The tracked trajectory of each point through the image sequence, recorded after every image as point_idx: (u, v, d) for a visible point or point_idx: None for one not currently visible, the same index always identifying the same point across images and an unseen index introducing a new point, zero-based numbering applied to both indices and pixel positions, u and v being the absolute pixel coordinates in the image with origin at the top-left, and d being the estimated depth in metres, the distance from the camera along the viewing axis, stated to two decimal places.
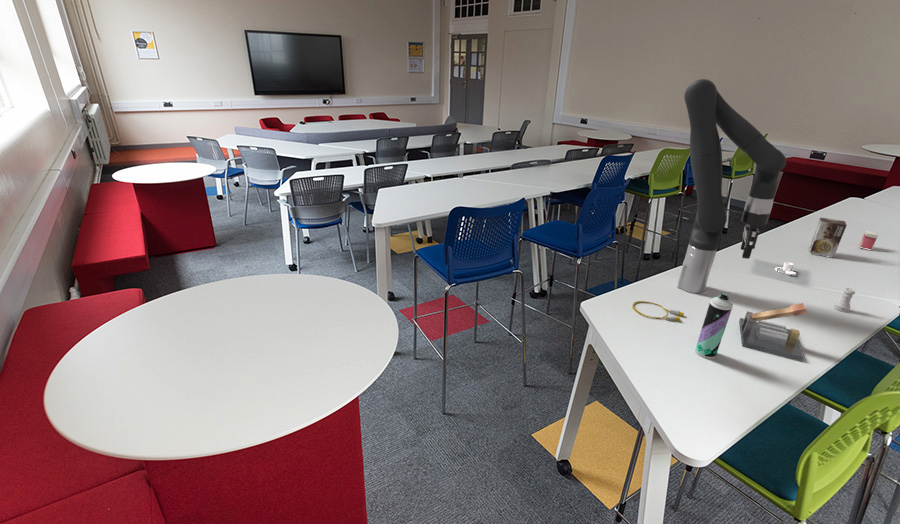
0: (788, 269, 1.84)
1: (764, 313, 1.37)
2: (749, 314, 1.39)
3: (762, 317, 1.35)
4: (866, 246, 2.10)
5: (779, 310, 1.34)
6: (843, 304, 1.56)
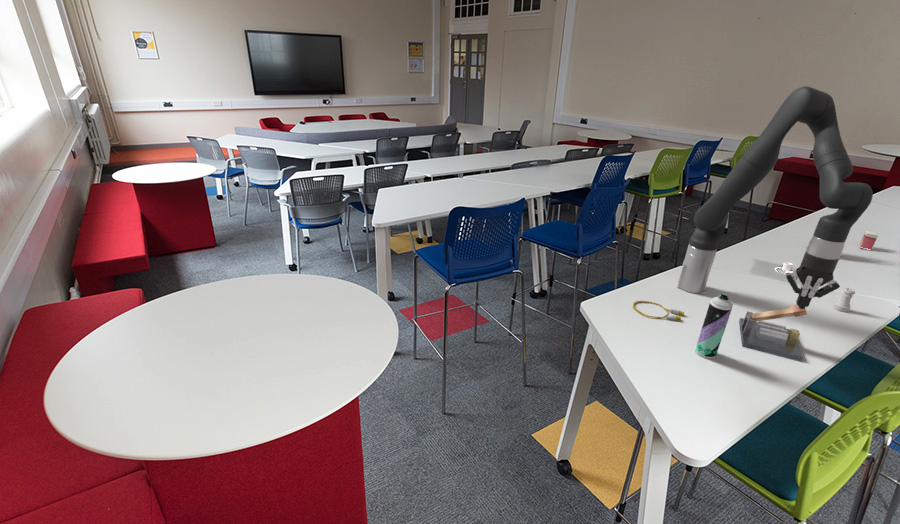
0: (788, 269, 1.84)
1: (764, 313, 1.37)
2: (749, 314, 1.39)
3: (762, 317, 1.35)
4: (866, 246, 2.10)
5: (780, 311, 1.34)
6: (843, 304, 1.56)
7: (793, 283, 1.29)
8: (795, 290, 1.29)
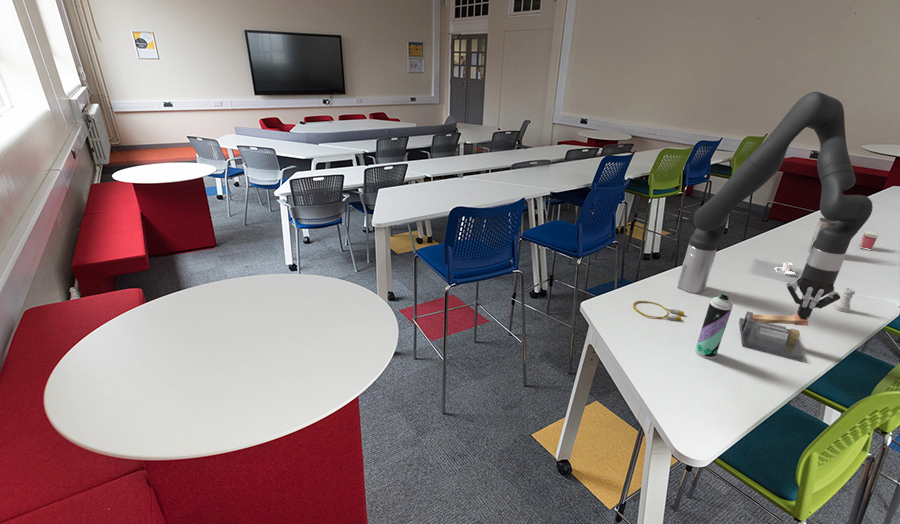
0: (787, 269, 1.84)
1: (765, 316, 1.37)
2: (750, 314, 1.39)
3: (763, 320, 1.36)
4: (866, 246, 2.10)
5: (781, 317, 1.35)
6: (843, 304, 1.56)
7: (794, 294, 1.30)
8: (796, 301, 1.30)
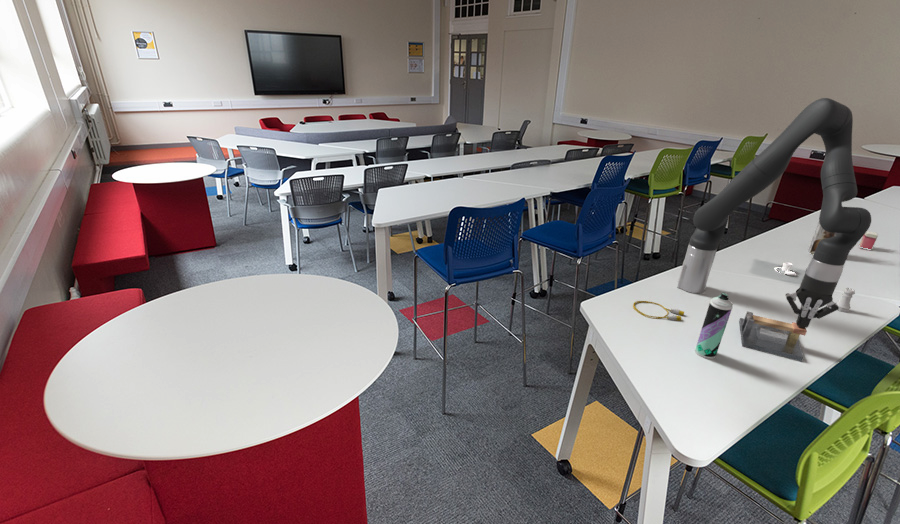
0: (787, 269, 1.84)
1: (765, 319, 1.37)
2: (751, 314, 1.39)
3: (763, 322, 1.36)
4: (866, 246, 2.10)
5: (780, 322, 1.35)
6: (843, 304, 1.56)
7: (793, 304, 1.31)
8: (795, 311, 1.31)
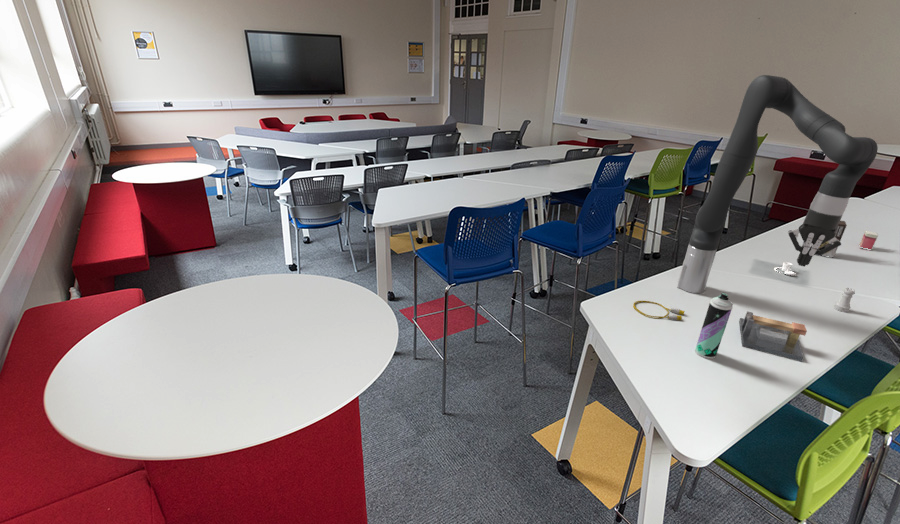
0: (787, 269, 1.84)
1: (765, 319, 1.37)
2: (751, 314, 1.39)
3: (763, 322, 1.36)
4: (866, 246, 2.10)
5: (780, 322, 1.35)
6: (843, 304, 1.56)
7: (795, 240, 1.30)
8: (796, 248, 1.30)
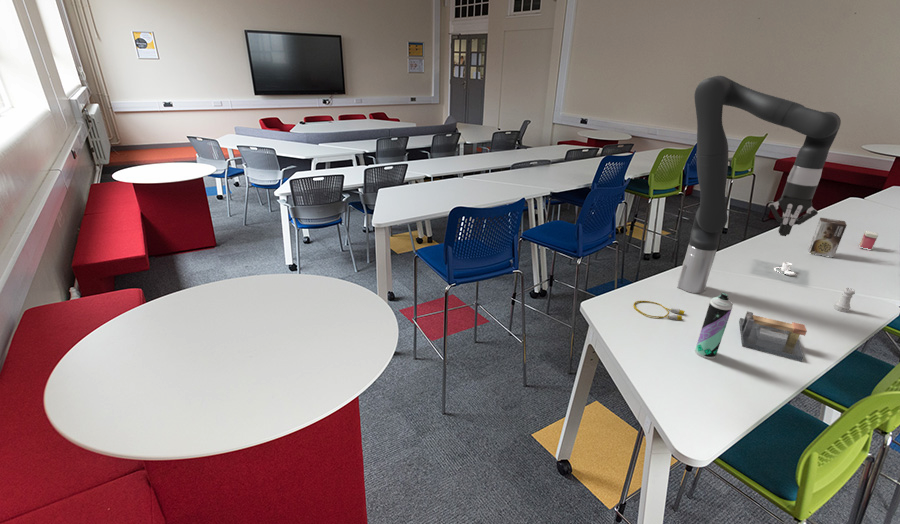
0: (787, 269, 1.84)
1: (765, 319, 1.37)
2: (751, 314, 1.39)
3: (763, 322, 1.36)
4: (866, 246, 2.10)
5: (780, 322, 1.35)
6: (843, 304, 1.56)
7: (775, 212, 1.39)
8: (777, 219, 1.39)
